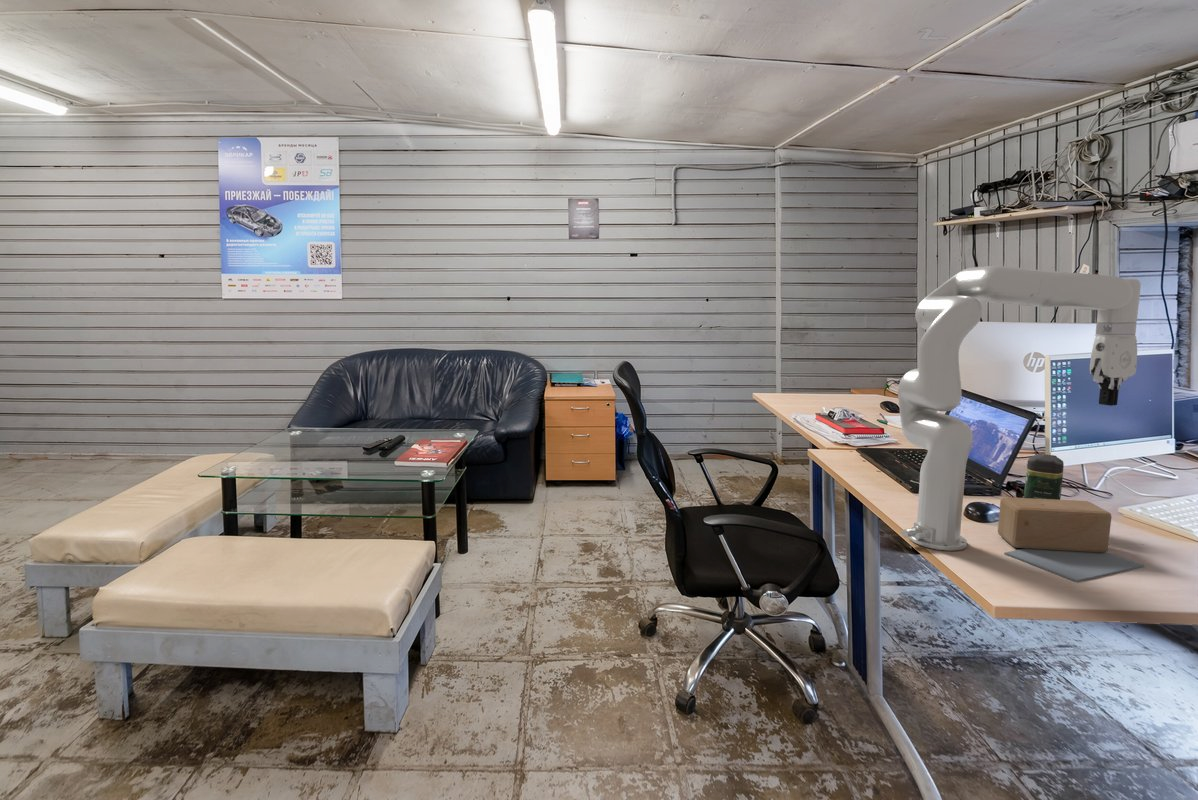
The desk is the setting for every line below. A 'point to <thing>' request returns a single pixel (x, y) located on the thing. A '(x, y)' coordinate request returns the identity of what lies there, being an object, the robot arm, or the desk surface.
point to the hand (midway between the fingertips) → (1107, 404)
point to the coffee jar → (1044, 477)
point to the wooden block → (1054, 524)
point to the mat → (1074, 562)
